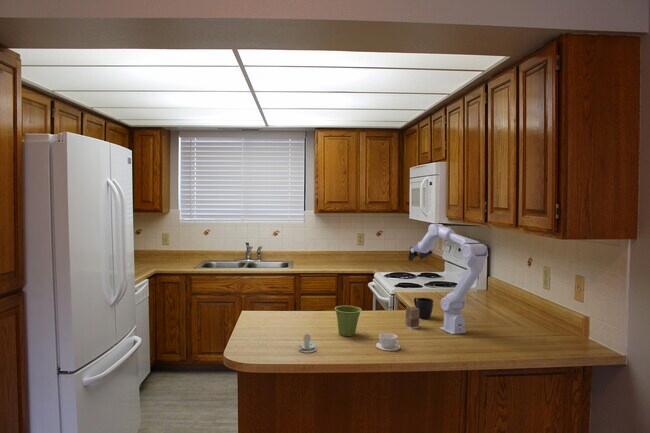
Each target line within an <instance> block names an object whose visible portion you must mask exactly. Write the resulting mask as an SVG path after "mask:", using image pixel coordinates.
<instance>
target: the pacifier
mask: <svg viewBox="0 0 650 433" xmlns="http://www.w3.org/2000/svg"><path fill="white" fill-rule="evenodd" d="M303 341H304V342H303V344H304V345H301V344H297V346H298V347H299V348H301V349H300V352H301V353H304V354H305V353H307V354H308V353H314V352H316V351H317V348H315V347H316V344H317V343H316V342H310V341H311V334H309V333H305V334H304V335H303Z"/></svg>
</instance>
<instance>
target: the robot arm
mask: <svg viewBox="0 0 650 433" xmlns="http://www.w3.org/2000/svg"><path fill="white" fill-rule="evenodd" d="M427 228H428V230H427V232H426V234H425V235H424V237H422V239H421V241H418V242H417V244H416V245H415V246H411V247H409V253H408V258H407V259H408V261H409V262H412V261H413V260H414V259H415V258H417V257H419V259H420V260H423V259H425V258H426V257H427V256H430V255H431V254H433V251H434V249H435V246H434V245H435V243H436V242H437V240H438V239H439V238H440V239H442V240H444V241H446V242H451V241H452V242H455V243H456V244H459V245H460V248H459V249H460V251H461V255H462V257H463V259H464V262H465V264H466V266H467V268H466V270H465V272H464V273H463V275H462V276H461V277H460V279H459V281H458V283H457V284H456V286H455V287H454V289H453V290H452V291H451V292H449V293H447V294H446V296H444V297H442V298H441V300H440V307H441V309H442V311H443V326H440V327H439V329H440V330H442V331H444V332H447V333H449V334H451V335H458V334H466V333H467V331H466V330H465V329H466V317H465V316H464V315H463V314H462V313H461V312H462V310H463V309H465V308H464V307H465V304H466V302H467V298H466V295H467V293H469V291H470V289H471V288H472V287H473V285H474V284H475V282H476V281H477V279H478V278H479V276H480V274H481V273H482V272H483V270H484V267H485V266H484V265H485V261H486V259H487V257H489V252H488V248H487V245H486V244H484V243H481V242H480V241H479V240H475V239H472V238H470V237H469V238H468V237H466V236H463V235H460V234H458V233H455V231H454V230H453V229H452V227H450V226H448V227H447V226H444V225H443V224H442V223H431V224H429V225H428V227H427ZM418 253H420V254H418Z"/></svg>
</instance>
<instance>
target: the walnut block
mask: <svg viewBox="0 0 650 433" xmlns="http://www.w3.org/2000/svg"><path fill="white" fill-rule="evenodd" d="M405 327H407V328H409V329H410V330H412V329H413V330H414V329H419V328H420V318H419V309H418V308H416V307H415V306H405Z"/></svg>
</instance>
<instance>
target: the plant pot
mask: <svg viewBox="0 0 650 433" xmlns="http://www.w3.org/2000/svg"><path fill="white" fill-rule="evenodd" d="M334 311H335V314H336V318H337V320H336V322H337V329H338V334H339V335H341V336H344V337H345V336H346V337H352V336H355V335H356V331H357V326H358V322H359V317H360V314H361V312H362V308H361V307H357V306H355V305H354V306H353V305H339V306H335V307H334Z"/></svg>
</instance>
